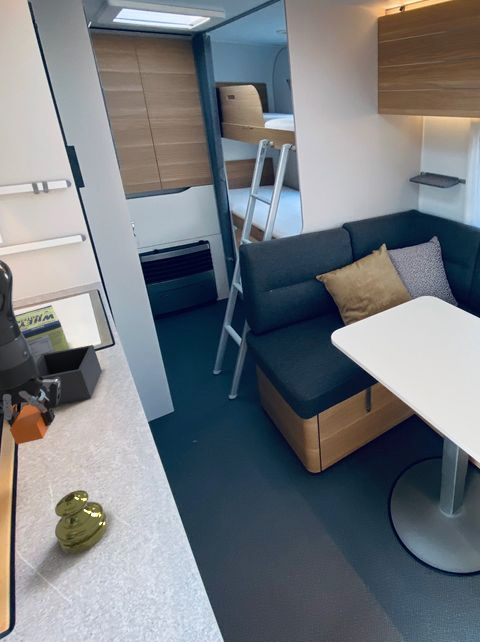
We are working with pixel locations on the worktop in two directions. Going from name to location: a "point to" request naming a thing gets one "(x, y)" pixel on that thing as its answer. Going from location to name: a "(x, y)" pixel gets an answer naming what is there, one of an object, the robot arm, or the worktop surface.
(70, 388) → the trash bin
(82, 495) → the olive gold metallic knob
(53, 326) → the protein box
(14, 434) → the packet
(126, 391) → the worktop surface
